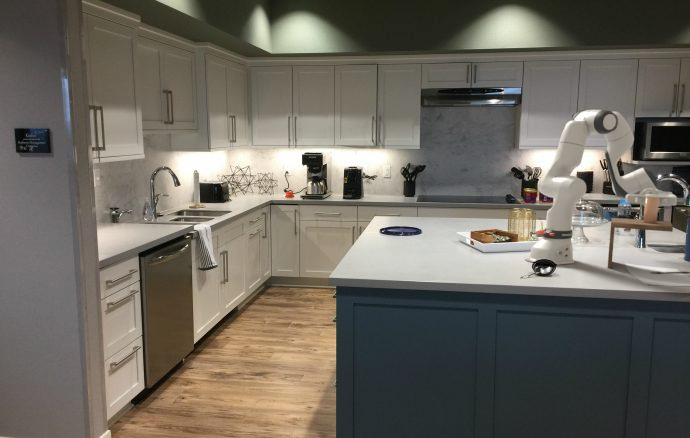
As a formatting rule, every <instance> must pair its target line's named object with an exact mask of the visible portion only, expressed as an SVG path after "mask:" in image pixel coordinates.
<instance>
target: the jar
mask: <svg viewBox="0 0 690 438" xmlns="http://www.w3.org/2000/svg"><path fill="white" fill-rule="evenodd" d="M658 201H659V195H658V194H645V206H644V211H643V219H642V220H643V222H644V223H651V224H654V223H657V221H658V211H659V207H658Z"/></svg>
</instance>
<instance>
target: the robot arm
mask: <svg viewBox="0 0 690 438" xmlns="http://www.w3.org/2000/svg"><path fill="white" fill-rule="evenodd" d="M589 135H603V137H604V138H605V140H606V143H607V146H606V147H607V148H606V149H605V151H604V158H605V161H606V166H607V169H608V173H609V177H610V179H611V187H612V191H613V193H614V194H615V195H616V197H618V198H621V199H622V198H623V199H625V203H627V204H641V205H642V206H643V207H645V194H658V195H659V201H658V208H659V207H671V206H677V201H678V197H677V195H675V194H673V192H671V191H667V190H661V189H658V185H659V182H658V180H657V178H656V176H655V175H654V173H653V171H652V170H651V169H649V168H647V167H641V168H638V169H636V170H633V171H632V172H629V173H627V174H625V175H622V176H621V175H620V172H619V169H618V161H619V160H620V159H621V157H623V156H624V155H625V154H626V153H627V152H628V151H630V149H631V148H632V146H633V144H634V141H635V136H634V133H633V131H632V129H631V127H630V125H629V123H628V122H627V121H626V119H625V117H624V116H623V115H622V114H621V113H620V112H619V111H611V110H608V109H587V110H580V111H578V112H576V113H575V114H574V115H573V116H572V118H571V120H570V121H568V122H566V124H565V126H564V128H563V130H562V133H561V135H560V138H559V142H558V147H557V150H556V152H555V153H556V154H555V156H554V159H553V162H552V164H551V165H550V167H549V169H548V170H547V171H546V172H545V174H544V175H542V176H541V177H540V178H539V179H538V182H537V189H538V191H539V192H540V193H541V194H542V195H544V196H545V197H548V198H553V199H554V201H553V205H552V206H551V208H549V209H547V212H546V219H545V227H544V229H543V230H542V229H538V231H539V234H542V236H543V237H542V238H541V239H540V240H539V241H536V242H535V243H534V244H533V245H532V246H531V249H530V253H529V256H525V257H524V260H525V261H526V262H529V263H532V264H534V263H533V262H534V261H536V260H539V259H548V260H552V261H554V262H555V263H556V264H557V265H565V264H566V265H567V264H575V260H574V252H573V250H574V248H573V243H572V237H573V229H572V227H573V226H572V224H573V216H574V211H575V208H576V206H577V204H578V203H579V201H580V200H581V199H583V197H584V196H586V192H587V183H586V182H585V180H583V179H582V178H579V177H577V176H573V175H572V173H573V171H574V170H575V169H576V168H577V167H579V166H580V164H581V163H582V160H583V155H584V152H585V148H586V143H587V138H588V137H589ZM638 192H639V193H638Z"/></svg>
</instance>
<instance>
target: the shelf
mask: <svg viewBox="0 0 690 438" xmlns="http://www.w3.org/2000/svg"><path fill="white" fill-rule="evenodd" d="M643 220H644V219H635V218H634V219H632V218H622V217H621V218H618V217H611V221H610V230H609V231H610V233H609V246H608V247H609V248H608V258H607V259H608V260H607V269H612V268H613V267H612V265H613V264H612V263H613V254H614V243H615V242H614V239H615V231H616V230H615V228H616V229H617V228H618V229H629V230H645V231H655V232H656V231H660V232H668V233H669V232H670V233H672V232H673V231H674V227H673V224H672V222H671V221H667V220H666V221H665V220H657V223H654V224H651V223H644V222H643Z"/></svg>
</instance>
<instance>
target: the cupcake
mask: <svg viewBox="0 0 690 438" xmlns="http://www.w3.org/2000/svg"><path fill="white" fill-rule="evenodd" d="M540 227H541V230H544V227H543V221H542V220H541V222H540ZM535 237H543V236H542V234H539V230H537V231H536V232H535Z"/></svg>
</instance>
